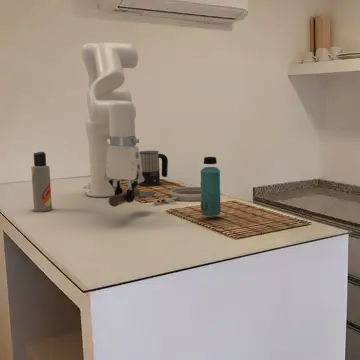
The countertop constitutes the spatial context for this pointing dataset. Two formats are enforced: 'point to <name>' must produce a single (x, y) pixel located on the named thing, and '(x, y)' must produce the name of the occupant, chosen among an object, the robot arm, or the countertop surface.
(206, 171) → the beverage bottle
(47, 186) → the lotion bottle
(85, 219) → the countertop surface
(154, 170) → the milk frother
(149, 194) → the spatula
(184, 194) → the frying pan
